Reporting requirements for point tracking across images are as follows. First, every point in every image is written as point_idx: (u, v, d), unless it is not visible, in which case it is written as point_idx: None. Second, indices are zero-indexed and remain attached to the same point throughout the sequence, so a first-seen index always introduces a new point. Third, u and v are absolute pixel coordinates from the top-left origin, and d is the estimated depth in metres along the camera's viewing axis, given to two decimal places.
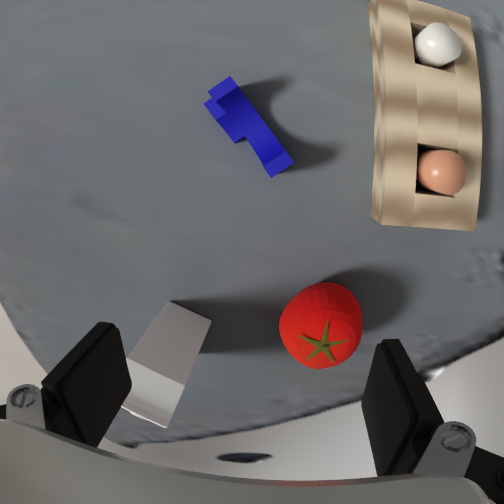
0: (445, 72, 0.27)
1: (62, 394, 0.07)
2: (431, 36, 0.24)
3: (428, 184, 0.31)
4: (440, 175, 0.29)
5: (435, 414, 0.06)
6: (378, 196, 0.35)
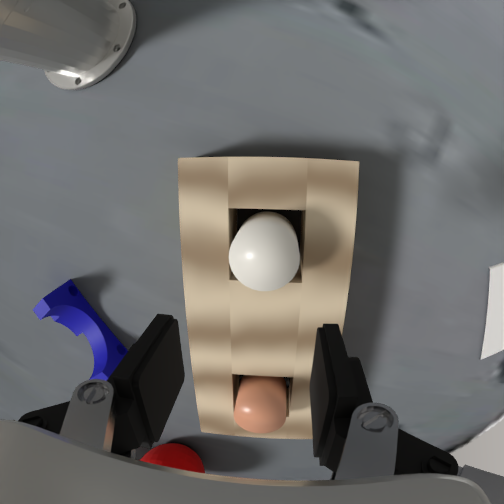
0: None
1: (135, 386, 0.08)
2: (239, 256, 0.22)
3: None
4: (246, 419, 0.27)
5: (355, 393, 0.07)
6: None
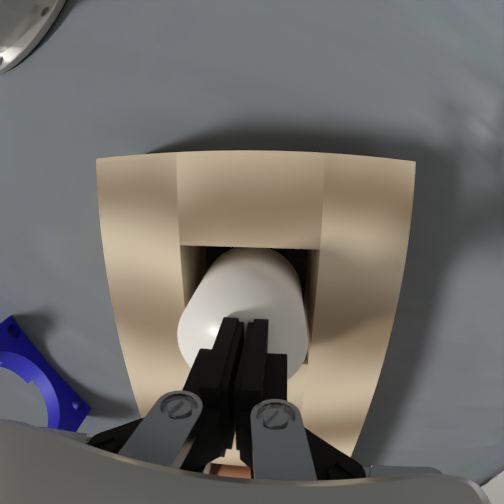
0: None
1: (221, 394, 0.08)
2: (195, 340, 0.12)
3: None
4: None
5: (258, 387, 0.07)
6: None
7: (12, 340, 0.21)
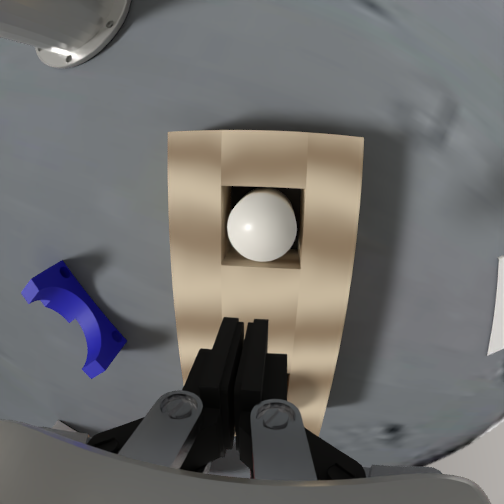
0: (279, 271, 0.24)
1: (222, 394, 0.08)
2: (237, 226, 0.23)
3: None
4: None
5: (258, 387, 0.07)
6: None
7: (63, 279, 0.30)
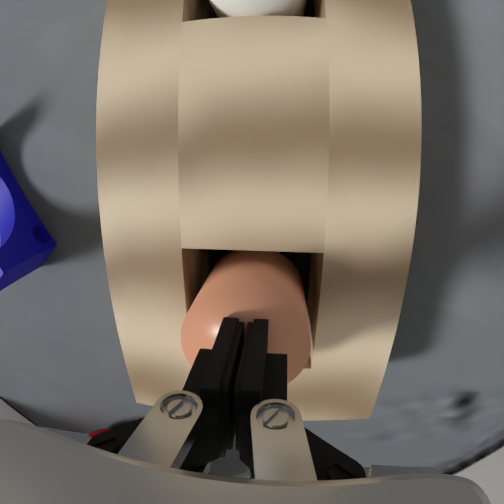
0: (288, 20, 0.10)
1: (222, 394, 0.08)
2: None
3: None
4: None
5: (258, 387, 0.07)
6: None
7: None
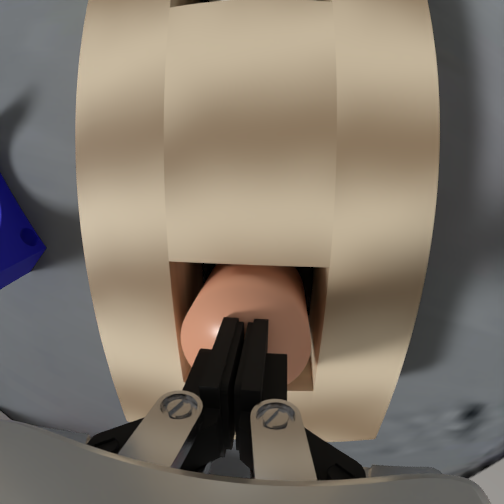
0: (288, 4, 0.08)
1: (222, 394, 0.08)
2: None
3: None
4: None
5: (258, 387, 0.07)
6: None
7: None
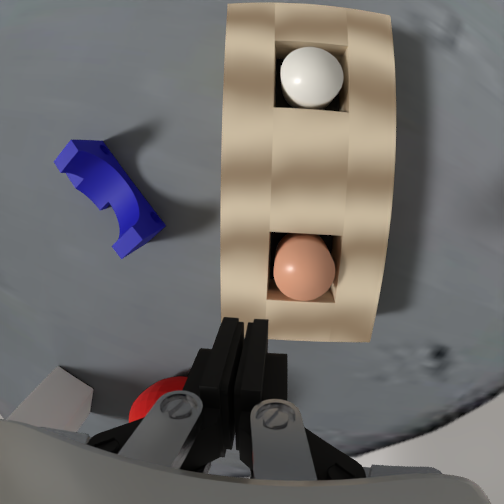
0: (329, 113, 0.22)
1: (222, 394, 0.08)
2: (289, 71, 0.21)
3: None
4: (289, 277, 0.25)
5: (258, 387, 0.07)
6: None
7: (103, 153, 0.28)
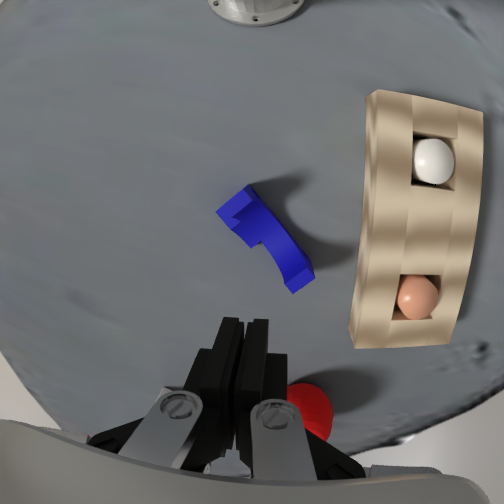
0: (444, 191, 0.29)
1: (222, 394, 0.08)
2: (422, 158, 0.29)
3: (399, 307, 0.35)
4: (410, 304, 0.33)
5: (258, 387, 0.07)
6: (355, 319, 0.37)
7: (258, 198, 0.35)
